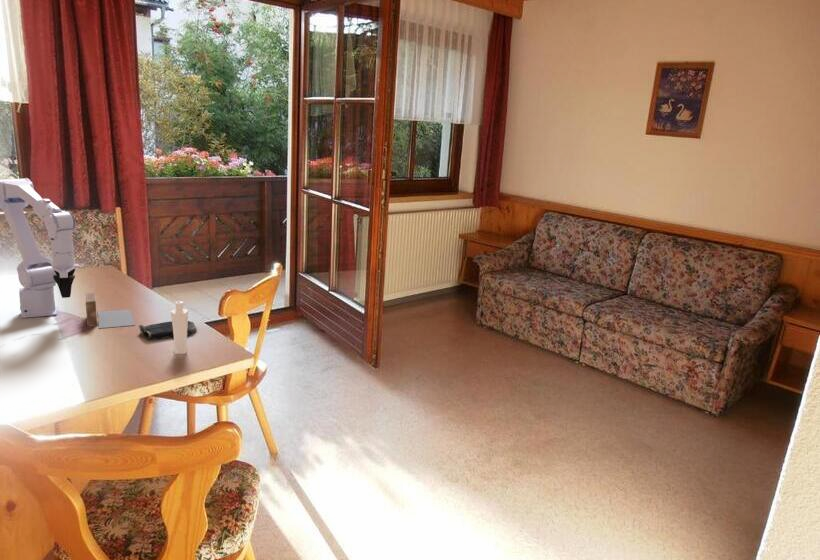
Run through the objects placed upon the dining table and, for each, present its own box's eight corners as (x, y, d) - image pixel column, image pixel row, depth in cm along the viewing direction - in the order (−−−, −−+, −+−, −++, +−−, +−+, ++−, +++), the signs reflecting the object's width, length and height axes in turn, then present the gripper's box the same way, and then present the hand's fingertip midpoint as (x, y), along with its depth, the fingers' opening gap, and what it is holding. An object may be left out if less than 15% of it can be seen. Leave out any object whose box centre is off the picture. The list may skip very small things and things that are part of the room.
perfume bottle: (179, 356, 162) (177, 305, 158) (169, 352, 164) (167, 302, 160) (192, 351, 166) (191, 302, 162) (183, 347, 168) (181, 298, 164)
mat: (99, 328, 177) (99, 328, 177) (97, 312, 190) (97, 311, 190) (134, 325, 181) (134, 324, 181) (131, 309, 195) (131, 309, 195)
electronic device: (151, 348, 170) (201, 332, 179) (146, 330, 168) (197, 315, 178) (141, 342, 177) (190, 326, 186) (137, 324, 175) (186, 310, 185)
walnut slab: (87, 326, 178) (85, 301, 176) (87, 316, 186) (85, 293, 183) (97, 325, 179) (95, 301, 177) (96, 316, 187) (94, 292, 185)
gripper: (77, 256, 169) (81, 300, 173) (78, 245, 181) (81, 286, 185) (49, 257, 166) (53, 302, 169) (51, 246, 178) (55, 288, 181)
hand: (66, 294), depth 177 cm, fingers open, 6 cm apart
